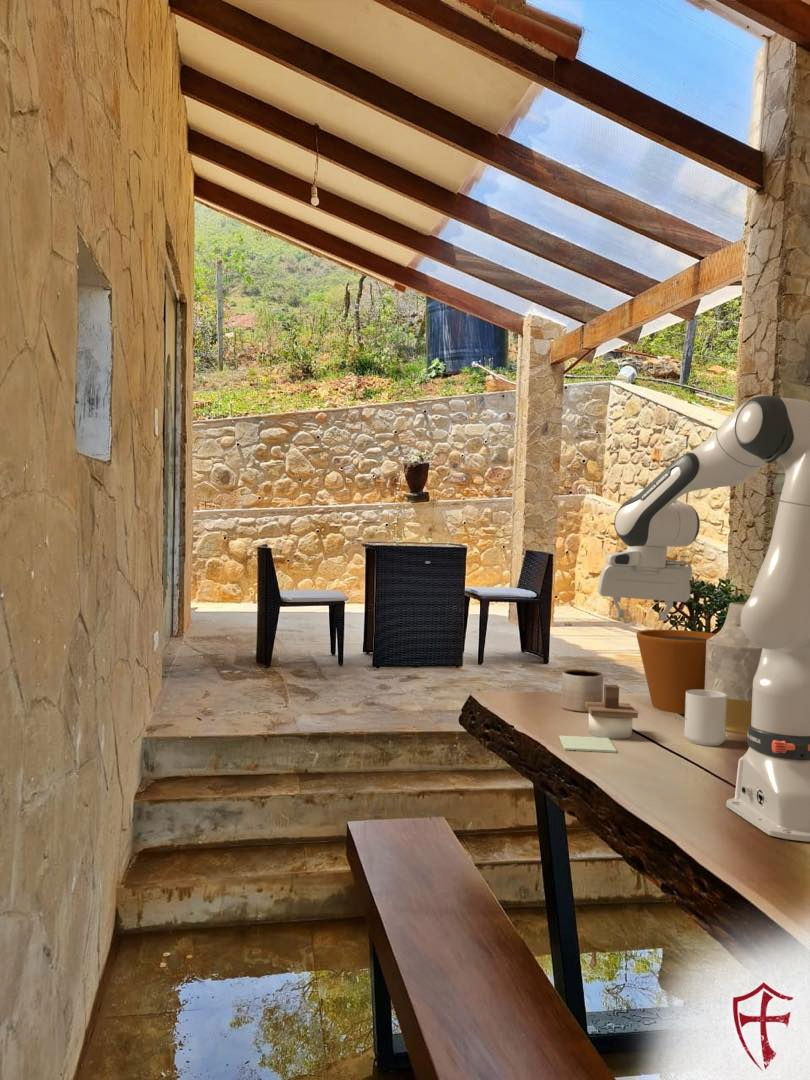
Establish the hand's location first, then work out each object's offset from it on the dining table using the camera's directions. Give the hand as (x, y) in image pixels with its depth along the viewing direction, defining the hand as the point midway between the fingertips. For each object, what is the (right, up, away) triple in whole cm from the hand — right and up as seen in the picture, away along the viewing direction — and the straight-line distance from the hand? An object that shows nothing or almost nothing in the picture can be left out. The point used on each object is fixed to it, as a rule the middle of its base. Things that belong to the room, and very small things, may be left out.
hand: (641, 618), depth 194 cm
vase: (+30, -29, +18) cm, 45 cm away
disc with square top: (-6, -27, +5) cm, 29 cm away
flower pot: (+20, -28, +37) cm, 50 cm away
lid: (-6, -22, +5) cm, 24 cm away
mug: (+15, -28, +2) cm, 32 cm away
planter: (-7, -27, +33) cm, 43 cm away
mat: (-14, -27, -6) cm, 31 cm away
